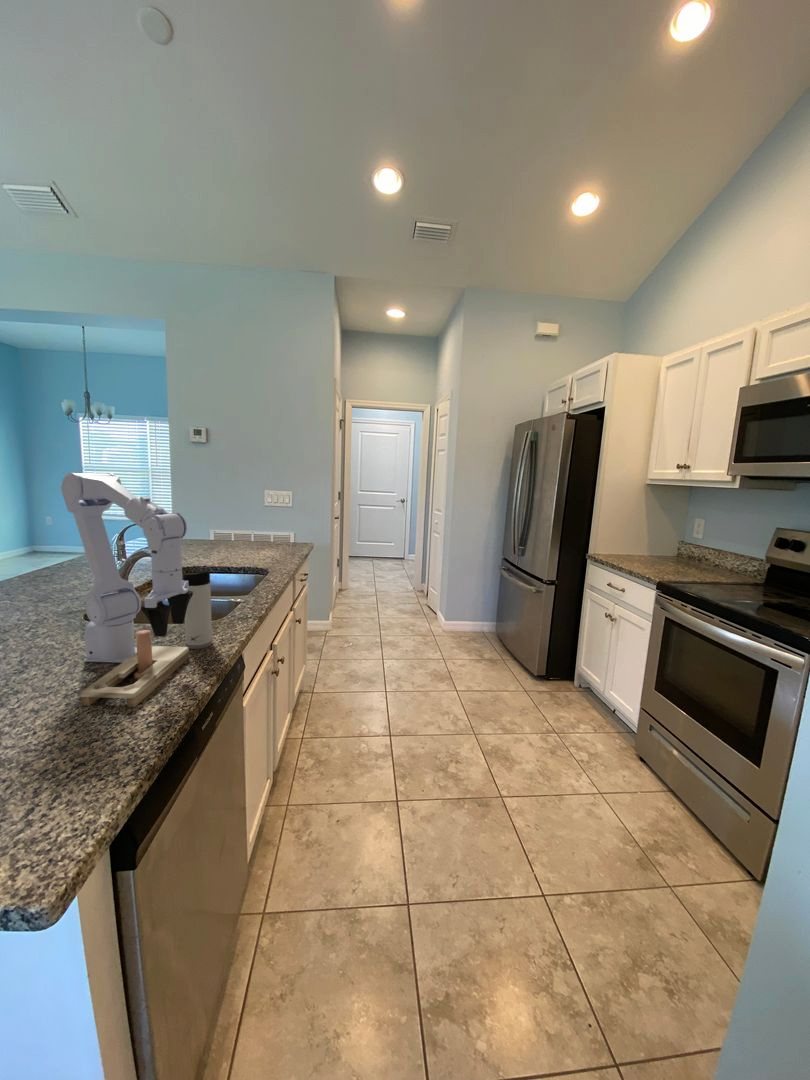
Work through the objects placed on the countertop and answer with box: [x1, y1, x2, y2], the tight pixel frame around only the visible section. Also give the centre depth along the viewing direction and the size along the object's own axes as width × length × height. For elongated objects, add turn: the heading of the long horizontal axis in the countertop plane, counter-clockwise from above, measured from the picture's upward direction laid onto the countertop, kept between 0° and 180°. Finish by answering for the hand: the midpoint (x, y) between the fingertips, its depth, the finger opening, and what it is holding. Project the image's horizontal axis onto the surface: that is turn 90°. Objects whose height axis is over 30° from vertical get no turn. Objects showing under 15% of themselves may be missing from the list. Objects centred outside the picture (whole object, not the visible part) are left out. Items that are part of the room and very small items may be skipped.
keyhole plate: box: [80, 645, 190, 708], centre depth 94 cm, size 10×22×3 cm, turn 1°
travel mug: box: [182, 570, 213, 650], centre depth 111 cm, size 6×7×20 cm
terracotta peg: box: [133, 629, 153, 681], centre depth 95 cm, size 4×4×10 cm
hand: (169, 629), depth 95 cm, fingers open, 7 cm apart
